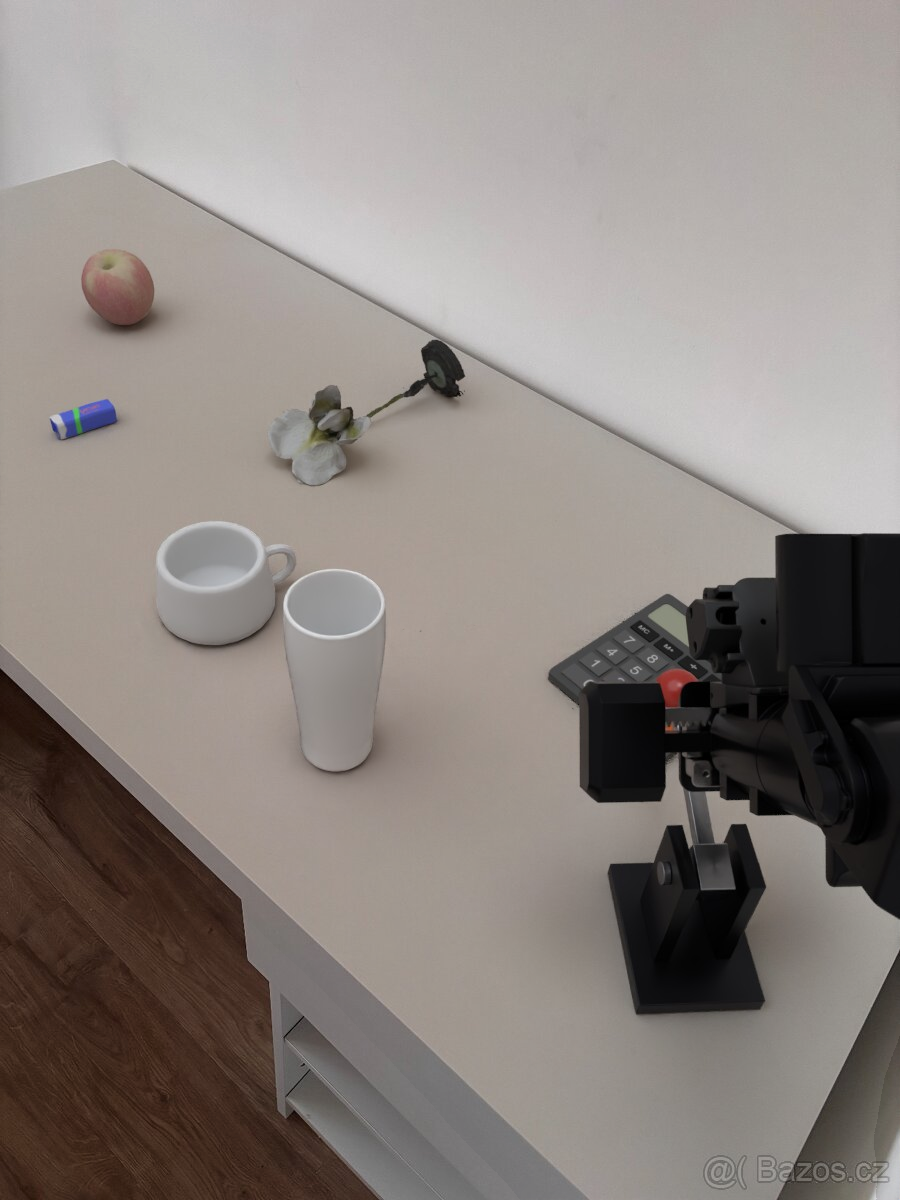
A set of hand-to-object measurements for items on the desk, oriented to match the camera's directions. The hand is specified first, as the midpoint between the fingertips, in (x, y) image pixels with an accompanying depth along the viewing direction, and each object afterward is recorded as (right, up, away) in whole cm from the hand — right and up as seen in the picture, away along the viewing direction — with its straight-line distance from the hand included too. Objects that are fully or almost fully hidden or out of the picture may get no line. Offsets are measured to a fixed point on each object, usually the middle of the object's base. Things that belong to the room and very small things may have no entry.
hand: (703, 722), depth 65 cm
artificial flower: (-23, +24, +43) cm, 55 cm away
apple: (-53, +39, +56) cm, 87 cm away
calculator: (+2, +1, +21) cm, 21 cm away
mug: (-34, +7, +24) cm, 42 cm away
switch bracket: (0, -15, +5) cm, 15 cm away
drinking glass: (-24, -4, +14) cm, 28 cm away
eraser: (-52, +25, +41) cm, 71 cm away
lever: (0, -5, +4) cm, 6 cm away
